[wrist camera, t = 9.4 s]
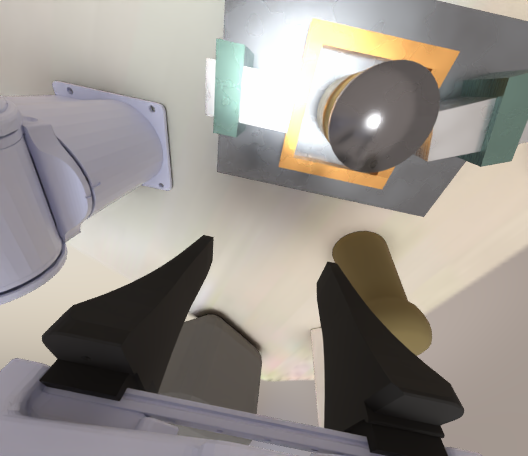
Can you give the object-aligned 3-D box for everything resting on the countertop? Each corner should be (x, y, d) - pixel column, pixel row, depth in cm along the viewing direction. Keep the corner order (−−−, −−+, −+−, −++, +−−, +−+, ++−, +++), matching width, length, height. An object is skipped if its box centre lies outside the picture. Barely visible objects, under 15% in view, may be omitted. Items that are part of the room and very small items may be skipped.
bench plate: (219, 167, 20) (202, 185, 16) (230, -38, 12) (204, -93, 9) (420, 211, 20) (450, 239, 16) (548, 35, 13) (658, 12, 9)
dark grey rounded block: (170, 318, 37) (107, 438, 24) (216, 303, 33) (168, 439, 20) (225, 358, 44) (198, 468, 31) (269, 350, 40) (258, 473, 27)
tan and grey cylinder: (329, 154, 17) (349, 187, 11) (305, 100, 15) (313, 106, 9) (388, 122, 15) (447, 141, 9) (368, 55, 13) (428, 28, 7)
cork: (376, 222, 21) (439, 319, 12) (393, 259, 24) (456, 362, 15) (323, 244, 24) (343, 339, 15) (344, 276, 26) (371, 373, 17)
